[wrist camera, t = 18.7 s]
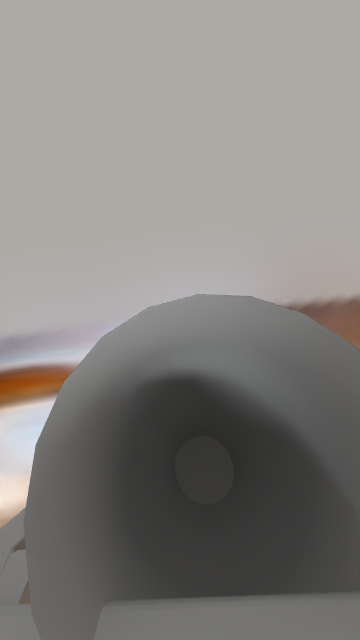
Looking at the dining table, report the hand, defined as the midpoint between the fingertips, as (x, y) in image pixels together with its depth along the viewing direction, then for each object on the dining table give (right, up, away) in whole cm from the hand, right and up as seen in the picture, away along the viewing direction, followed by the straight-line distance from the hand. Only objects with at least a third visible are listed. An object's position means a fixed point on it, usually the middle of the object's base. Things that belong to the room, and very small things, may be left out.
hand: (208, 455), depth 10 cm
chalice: (0, -6, +11) cm, 13 cm away
